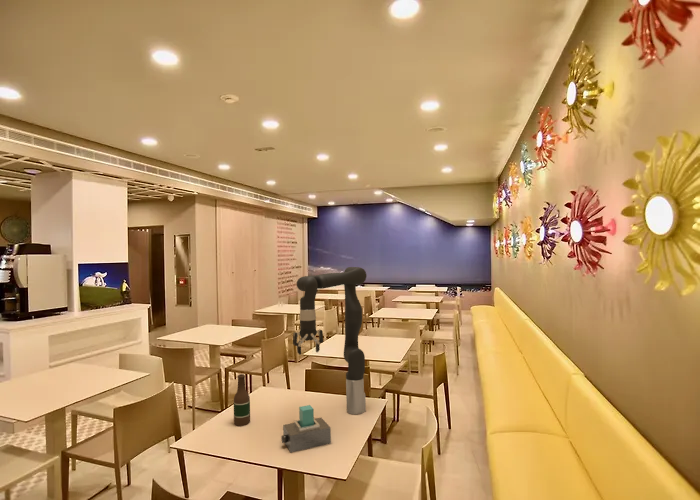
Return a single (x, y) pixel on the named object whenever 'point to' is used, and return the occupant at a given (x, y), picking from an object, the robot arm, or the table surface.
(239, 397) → the beer bottle
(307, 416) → the block
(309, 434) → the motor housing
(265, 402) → the table surface
